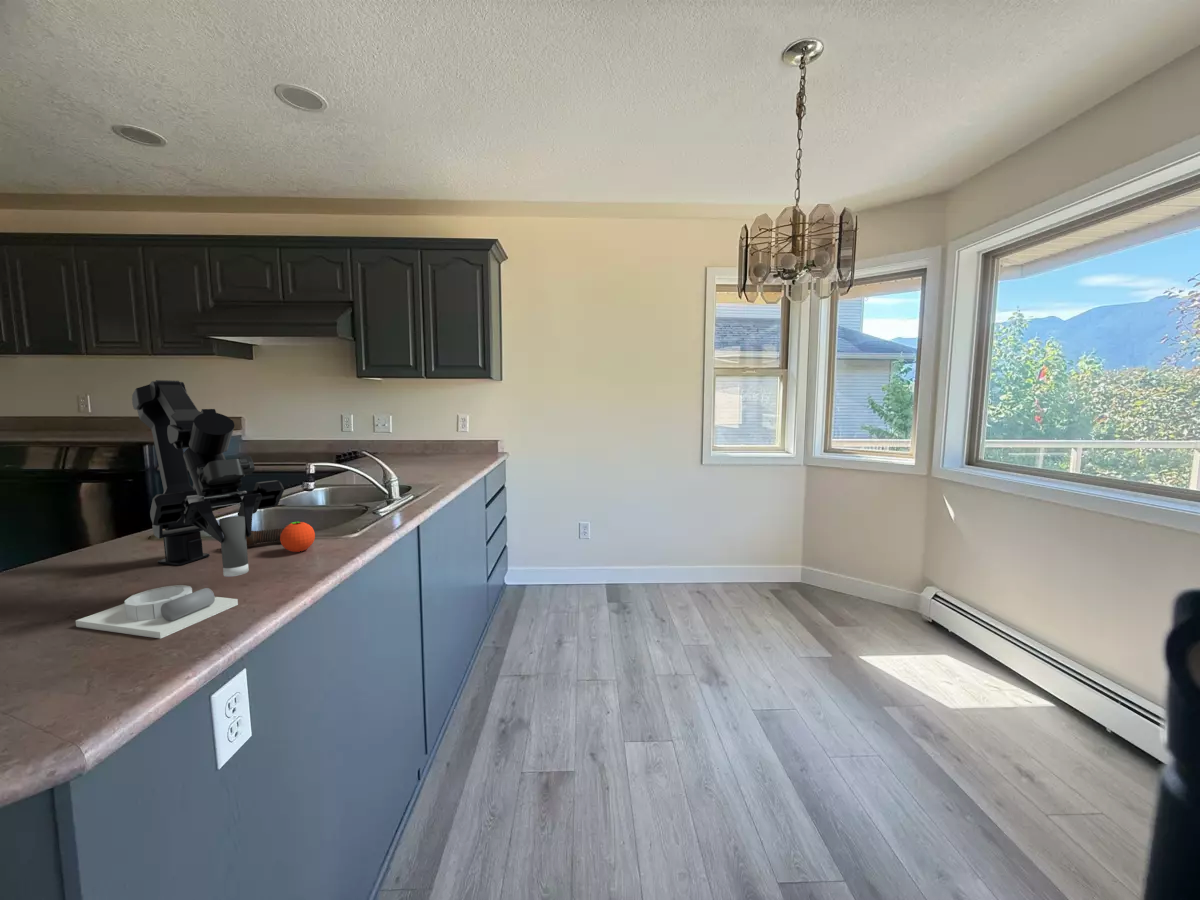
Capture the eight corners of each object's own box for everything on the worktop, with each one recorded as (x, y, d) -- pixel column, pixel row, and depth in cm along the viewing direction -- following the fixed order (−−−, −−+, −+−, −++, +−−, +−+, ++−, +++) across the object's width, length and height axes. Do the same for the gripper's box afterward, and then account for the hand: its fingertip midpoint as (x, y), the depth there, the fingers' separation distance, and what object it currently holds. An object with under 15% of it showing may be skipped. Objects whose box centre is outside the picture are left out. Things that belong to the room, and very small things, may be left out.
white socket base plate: (76, 626, 74) (73, 602, 74) (161, 595, 86) (159, 574, 85) (160, 638, 70) (158, 612, 70) (237, 604, 82) (236, 582, 82)
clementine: (274, 551, 111) (271, 521, 110) (306, 544, 116) (304, 515, 116) (288, 558, 106) (286, 527, 105) (321, 550, 112) (319, 520, 111)
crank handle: (218, 575, 84) (213, 520, 83) (237, 568, 87) (233, 515, 86) (234, 577, 83) (230, 521, 82) (253, 570, 87) (249, 516, 85)
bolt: (311, 546, 121) (237, 555, 112) (309, 532, 124) (237, 541, 115) (312, 529, 118) (236, 537, 109) (310, 516, 122) (236, 523, 112)
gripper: (147, 446, 77) (173, 523, 72) (276, 439, 93) (306, 501, 87) (140, 488, 83) (164, 562, 78) (263, 475, 98) (290, 536, 93)
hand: (236, 538), depth 84 cm, fingers closed on crank handle, 4 cm apart
